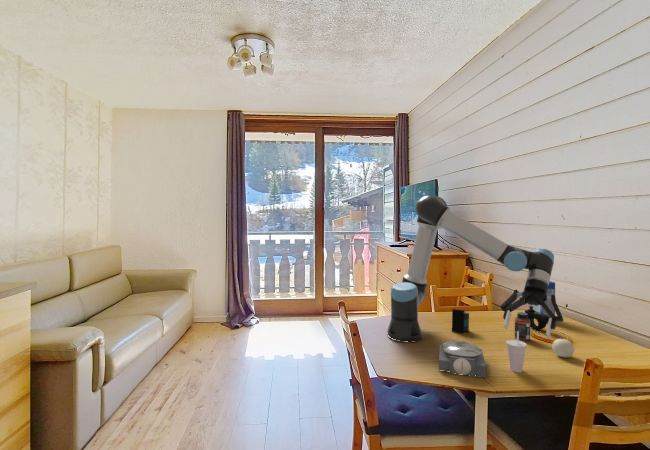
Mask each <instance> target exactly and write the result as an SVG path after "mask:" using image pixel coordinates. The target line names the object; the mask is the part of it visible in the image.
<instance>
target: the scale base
mask: <svg viewBox="0 0 650 450" xmlns="http://www.w3.org/2000/svg"><path fill="white" fill-rule="evenodd" d="M442 345H443V343H442V344H441V343H440V344H439V356H438V371H439V370H444V371H450V373H456V374H463V375H470V376H475V375H476V376H481V377H480V378H483V377H486V378H487V365H486V361H485V360H486V359H485V356H484V353H483V348H480V349H481V354H480V356H478V357H474V358H463V357H456V356H453V355H450V354H448V353H446V352H445V351H443V349H442ZM450 373H449V374H450ZM476 376H475V377H476Z"/></svg>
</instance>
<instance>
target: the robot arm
mask: <svg viewBox="0 0 650 450" xmlns="http://www.w3.org/2000/svg"><path fill="white" fill-rule="evenodd" d="M415 212H416V215H417V218H416V223H417V225H418V229H417V233H416V237H415V242H414V245H413V249H412V252H411V257H410V262H409V264H408V265H409V266H408V271H407V273H405V274H403V278H402V280H401V282H398V283H395V284H393V285H392V286H391V290H390V312H391V313H390V314H391V315H390V316H391V317H390V318H391V319H390V322H389V325H388V328H387V333H388V334H387V336H388V335H389V336H390V337H391V338H393V339H396V340H400V341H408V342H410V343H413V342H412V341H417V342H419V341H421V340H422V339H423V333H422V329H421V327H420V323H419V320H418V319H419V318H418V316H419V315H418V314H419V313H418V312H419V311H418V307H419V305H421V304H422V303H423V302H424V301H425V299H426V296H427V286H428V284H429V283H428V280H427V279H426V277H427V273H428V269H429V266H430V261H431V258H432V255H433V254H432V253H433V249H434V245H435V241H436V237H437V233H438V231H439V230H440V229H441V228H442V229H444V230H445V231H447V232H449V233H450V234H452V235H453V236H455V237H457V238H458V239H460V240H462V241H464V242H465V243H467V244H469V245H471V246H472V247H474V248H475V249H478V251H481V252H482V253H483V254H485V255H487V256H489V257H490V258H492V259H494V261H497V262H498V263H500V264H501V265H504V267H505V268H506V269H508V270H509V271H511V272H520V271H523V270H528V273H527V276H526V281H525V284H524V288H523V291H518V289H514V290H513V293H512V294H511V295H510V296H509V297H508V298H507V299H506V300H505V301H504V302H502V303H501V305H500V306H499V307H500V309H501V311H502V312H504V313H503V315H502V318H503V320H504V322H503V326H504V329H505V330H508V328H509V326H510V325H509V324H510V321H511V317H512V312H513V311H515V310H517V309H519V308H520V307H522V306H525V305H526V304H528V305H529V306H530V305H535V306H538V305H540V306H541V307H542V308H543V309H544V310H545V311H546V313H547V314H548V315H549V316H550V318H549V321H548V322H547V325H546V330H545V331H546V332H545V336H546V339H551V335H552V330H556V327H557V323H558V322H561V323H562V322H564V317H563V315H562V313H561V310H560V308H559V306H558V304H557V297H556V294H555V295H551V296H547V291H548V285H549V281H551V276H552V271H553V268H554V264H555V255H554V252H552V251H551V250H548V249H546V248H542V249H541V248H537V249H535V250H534V251H531V250H530V251H529V250H526V249H523V248H519V247H516V246H513V245H509V244H508V243H506V242H504V241H503V240H500V239H499V238H497V237H495V236H494V235H492V234H490V233H488V232H487V231H485V230H483V229H481V228H480V227H478V226H476V225H475V224H473V223H471V222H469V221H468V220H466V219H465V218H462V217H461V216H459V215H457V214H456V213H454V212H453V211H451V208H450V207H448V205H447V201H446V200H444V198H443V197H440V196H437V195H431V194H430V195H428V194H427V195H424V196H422V197H420V198H419V199H418V201H417V202H416V205H415ZM518 298H519V299H518ZM517 299H518V300H517ZM547 299H548V300H549V301H550V302H552V305H553V307H554V309H555V315H554V314H553V313H552V311H551V310H550V309H549V308H548V306H547V305H546V304H545V301H546V300H547ZM421 338H422V339H421ZM420 339H421V340H420ZM418 340H419V341H418Z"/></svg>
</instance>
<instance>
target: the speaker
mask: <svg viewBox="0 0 650 450" xmlns="http://www.w3.org/2000/svg"><path fill="white" fill-rule="evenodd" d="M451 310H452V311H451V312H452V315H451V332H453V333H459V334H465V332H469V331H470V330H469V329H470V325H469V324H470V312H465V310H463V309H456V308H455V309H454V308H452V309H451Z"/></svg>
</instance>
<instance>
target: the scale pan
mask: <svg viewBox="0 0 650 450" xmlns="http://www.w3.org/2000/svg"><path fill="white" fill-rule="evenodd" d="M442 344H443V345H442V349H443V351H445V352H446V353H448V354H450V355H453V356H456V357H463V358H474V357H478V356H480V354H481V349H482V348H481V347H479V346H478V345H476V344H475V343H471V342H468V341H464V340H448V341H445V342H444V343H442Z"/></svg>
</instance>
